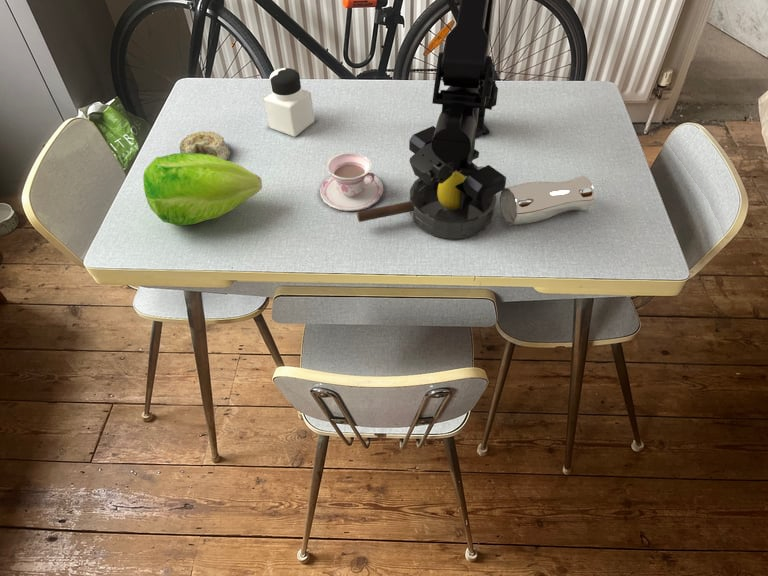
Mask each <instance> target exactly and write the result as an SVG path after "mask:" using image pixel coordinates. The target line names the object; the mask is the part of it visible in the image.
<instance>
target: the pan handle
mask: <svg viewBox="0 0 768 576" xmlns="http://www.w3.org/2000/svg"><path fill="white" fill-rule="evenodd" d="M413 204H414V203H413V201H410V200H408V201H403V202H399V203H393V204H390V205H384V206H379V207H374V208H370V209H363V210H358V211H357V212H356V218H357V221H358V222H359V223H361V222H362V223H363V222H366V221H371V220H375V219H382V218H386V217H387V218H388V217H391V216H396V215H401V214H405V213H410V212H411V211H413Z"/></svg>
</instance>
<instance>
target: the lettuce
mask: <svg viewBox="0 0 768 576" xmlns="http://www.w3.org/2000/svg"><path fill="white" fill-rule="evenodd" d="M142 177H143V189H144V195H145V198H146V202H147V204H148V206H149V208H150V209H151V211H152V212H153V213H154V214H155V215H156V216H157V217H158V218H159V219H160V220H161V221H162V222H163V223H166V224H169V225H174V226H189V225H196V224H198V223H202V222H204V221H205V222H206V221H208V220H212V219H218V218H220V217H221V216H223V215H225V214H228V213H229V212H230V211H232V210H234V209H236V208H237V207H239V206H240V205H242V204H243V203H244V202H245V201H247V200H249V199H250V198H252V197H253V196H255V195H256V194H258V193H259V192H260V191H261V190H262V189H263V181H262V177H260V176H259V175H258V174H256V173H255V172H252V171H250V170H248V169H247V168H245V167H244V166H242V165H240V164H237V163H235V162H232V161H229V160H228V159H226V160H224V159H221V158H218V157H216V156H213V155H207V154H195V153H181V152H180V153H179V152H178V153H171V154H167V155H163V156H156V157H155V158H154V159H153V160H152V161H151V162H150V163H149V164H148V166H146V168H145V169H144V171H143V176H142Z"/></svg>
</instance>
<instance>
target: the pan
mask: <svg viewBox="0 0 768 576" xmlns="http://www.w3.org/2000/svg"><path fill="white" fill-rule="evenodd" d="M454 172H456V171H454ZM461 174H462V175H463V176H464V177H465V176H466V175H465V174H463V173H462V172H461ZM437 191H438V188H437V185H436V182H435V183H434V184H432V185H428V184H426V183H425V182H424V181H423V180H421V179H420V178H419V177H418V178H416V180H415V181H414V182H413V184H412V185H411V187H410V189H409V201H413V203H414V204H413V211H411V212H409V215H410V217H411V220H412V222H413V223H414V224H415V225H416V226H417V227H418V228H419V229H420V230H422V231H423V232H426V233H427V234H429V235H431V236H433V237H437V238H442V239H448V240H457V239H458V240H459V239H461V240H462V239H465V238H470V237H473V236H476V235H478V234H480V233H481V232H483V231H485V230H486V229H487V228H488V226H490V225H491V224H492V222H493V218H494V216H495V211H496V205H497V201H498V200H497V194H495V195H493V196H491V197H489V198H487V199H485V200H484V201H482V202H481V201H476V200H474V199H473V200H472V201H471V202H470V204H469V205H468V206H467V208H466V209H464V210H462V211H461V210H460V208H459V209H456V210H449V209H447V208H445V207H443V206H442V205H441V203H440V202H439V199H438V195H437Z"/></svg>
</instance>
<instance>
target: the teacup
mask: <svg viewBox="0 0 768 576" xmlns="http://www.w3.org/2000/svg"><path fill="white" fill-rule="evenodd" d="M325 168H326V170H327V172H328V173H329V175H330V176H328V177H327V178H326V179H325V180H324V181H323V182H322V184H321V186H320V188H319V189H320V190H319V191H320V192H319V193H320V197H321V199H322V201H323V202H324V203H325V204H326V205H327V206H329V207H331V208H332V209H335V210H338V211H345V212H356V211H363V210H366V209H367V208H370V207H371V206H373V205H375V204H377V202H378V201H380V199H382V196H383V194H384V185H383V182H382V181H381V180H380V178H379V177H378V176H376V174H375V173H373V172H371V171H372V168H373V164H372V161H371V160H370V159H369V158H368V157H367V156H365V155H363V154H360V153H356V152H343V153H342V152H341V153H337V154H335V155H333V156H331V157H330V158H328V159H327V161H326V164H325Z"/></svg>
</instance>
